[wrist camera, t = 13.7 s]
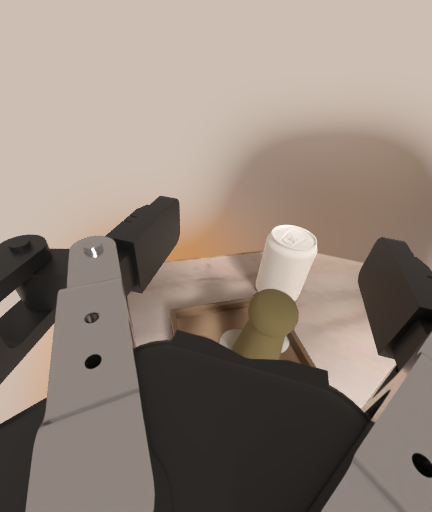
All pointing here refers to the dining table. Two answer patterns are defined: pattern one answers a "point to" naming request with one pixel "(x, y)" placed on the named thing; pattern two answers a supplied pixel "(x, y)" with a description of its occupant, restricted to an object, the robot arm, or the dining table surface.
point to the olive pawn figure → (267, 325)
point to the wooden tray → (230, 326)
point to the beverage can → (286, 260)
